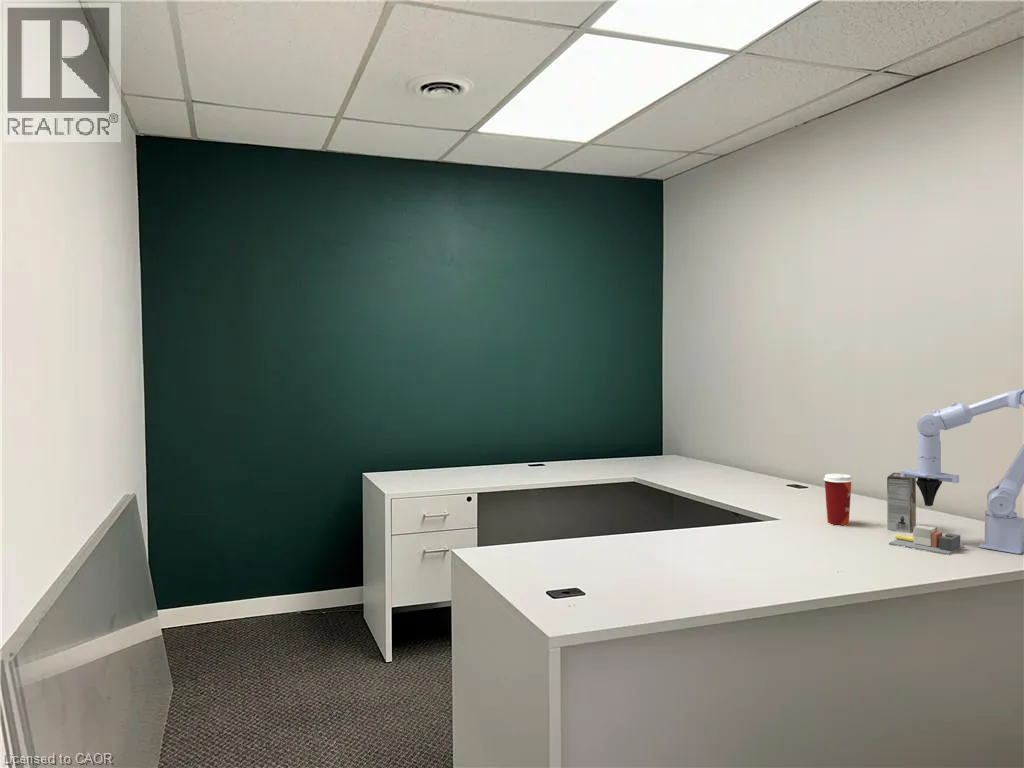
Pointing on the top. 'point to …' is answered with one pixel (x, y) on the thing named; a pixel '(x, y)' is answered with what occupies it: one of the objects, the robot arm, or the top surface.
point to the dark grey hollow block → (949, 542)
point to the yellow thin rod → (905, 538)
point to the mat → (921, 546)
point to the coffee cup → (838, 498)
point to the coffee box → (901, 503)
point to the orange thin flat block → (935, 538)
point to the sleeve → (923, 534)
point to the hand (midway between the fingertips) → (929, 505)
